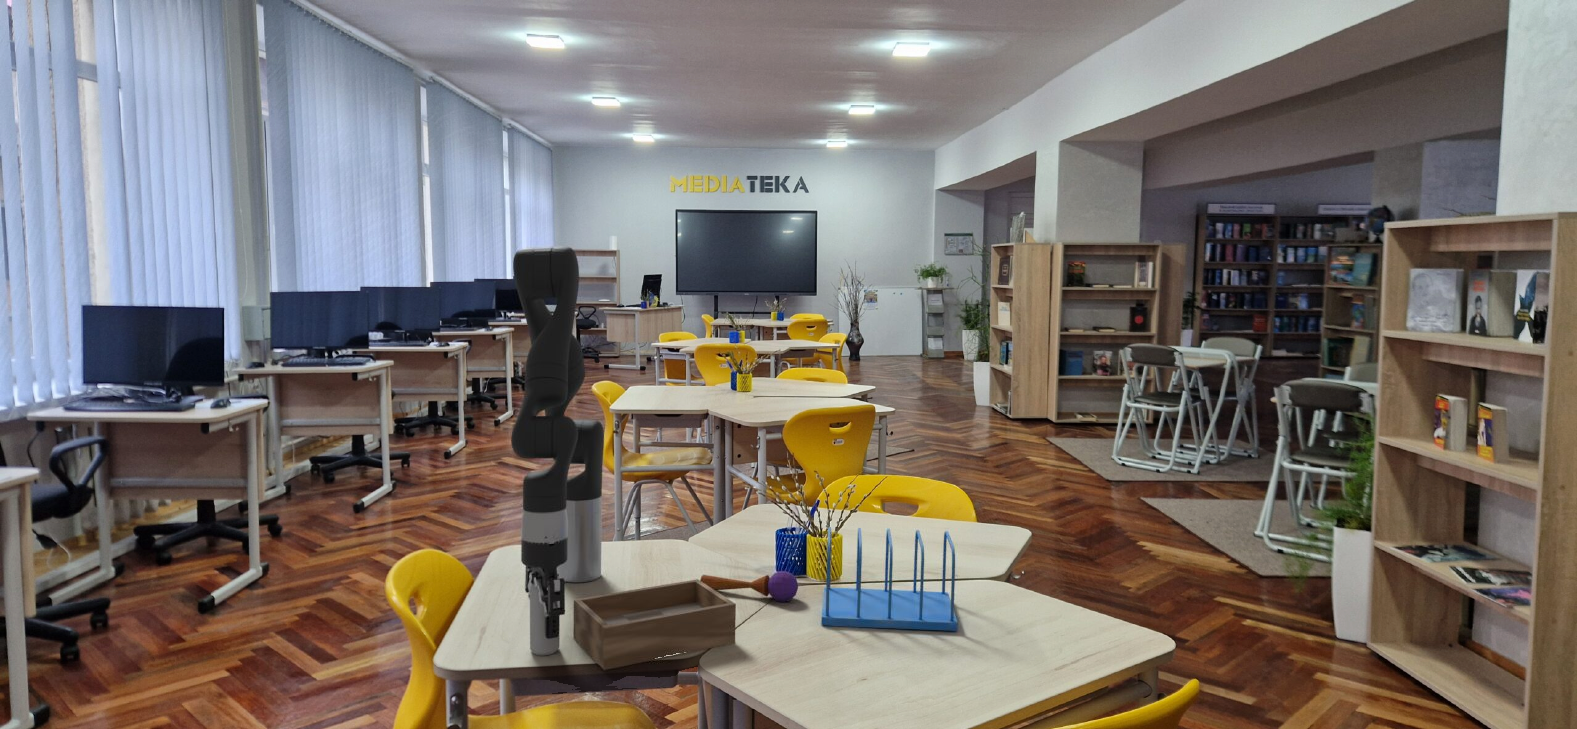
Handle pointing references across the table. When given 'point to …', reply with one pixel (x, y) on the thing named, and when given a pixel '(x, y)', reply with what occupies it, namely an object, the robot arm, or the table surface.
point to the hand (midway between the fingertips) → (544, 628)
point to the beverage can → (540, 627)
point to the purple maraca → (759, 585)
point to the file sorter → (890, 597)
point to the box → (653, 623)
